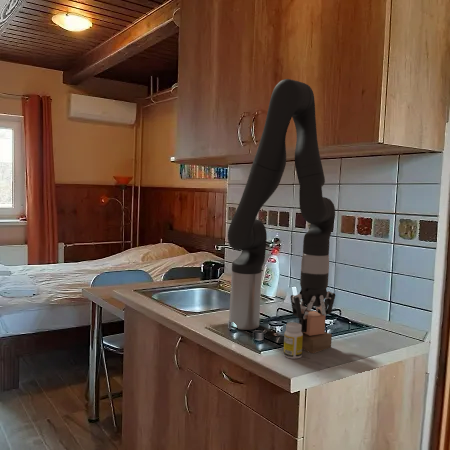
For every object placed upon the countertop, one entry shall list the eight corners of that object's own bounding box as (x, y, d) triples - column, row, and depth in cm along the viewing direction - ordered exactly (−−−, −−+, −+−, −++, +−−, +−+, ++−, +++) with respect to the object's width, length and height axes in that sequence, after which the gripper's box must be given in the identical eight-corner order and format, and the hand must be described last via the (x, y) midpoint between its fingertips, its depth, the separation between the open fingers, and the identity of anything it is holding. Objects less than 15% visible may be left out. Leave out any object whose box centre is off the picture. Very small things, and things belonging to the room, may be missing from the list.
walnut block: (290, 345, 130) (290, 331, 130) (308, 339, 135) (309, 326, 135) (312, 354, 124) (313, 340, 124) (331, 348, 129) (331, 334, 129)
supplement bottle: (299, 352, 124) (301, 321, 124) (303, 359, 120) (305, 327, 119) (282, 352, 124) (283, 321, 123) (284, 359, 120) (286, 327, 119)
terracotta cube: (298, 330, 130) (299, 312, 130) (313, 328, 132) (314, 310, 132) (309, 335, 126) (310, 317, 125) (324, 333, 128) (325, 315, 127)
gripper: (326, 266, 134) (323, 323, 136) (285, 268, 127) (282, 329, 129) (344, 271, 127) (340, 331, 129) (301, 274, 121) (297, 337, 123)
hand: (311, 329), depth 129 cm, fingers closed on terracotta cube, 5 cm apart
